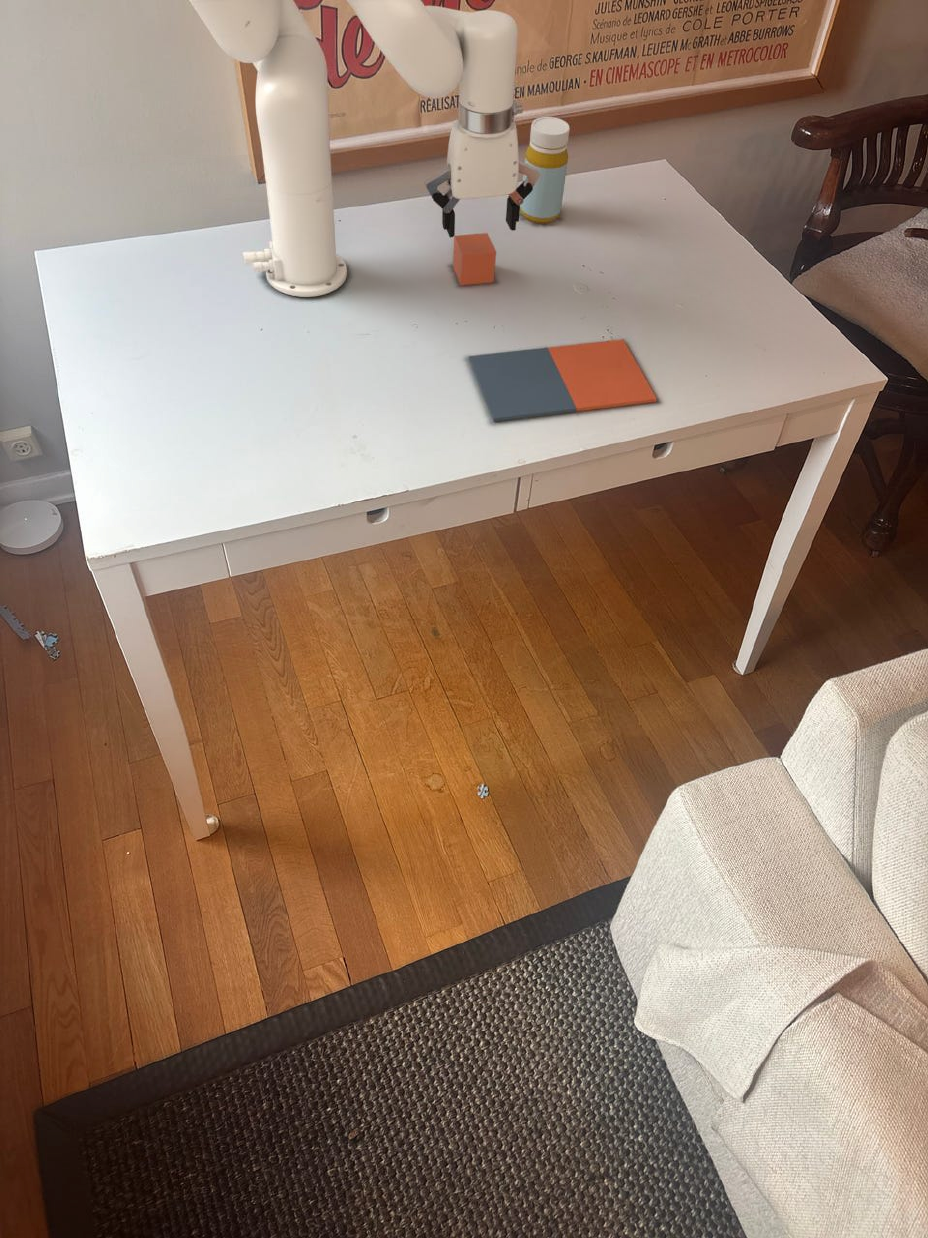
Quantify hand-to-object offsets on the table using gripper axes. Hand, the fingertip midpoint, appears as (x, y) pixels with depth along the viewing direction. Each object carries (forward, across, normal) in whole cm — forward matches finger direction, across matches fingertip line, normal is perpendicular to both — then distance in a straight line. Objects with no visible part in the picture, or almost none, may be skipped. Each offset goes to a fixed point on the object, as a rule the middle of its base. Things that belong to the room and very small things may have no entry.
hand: (480, 229), depth 148 cm
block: (+8, +1, 0) cm, 8 cm away
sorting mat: (+8, -5, +28) cm, 29 cm away
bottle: (+8, -15, -16) cm, 24 cm away
